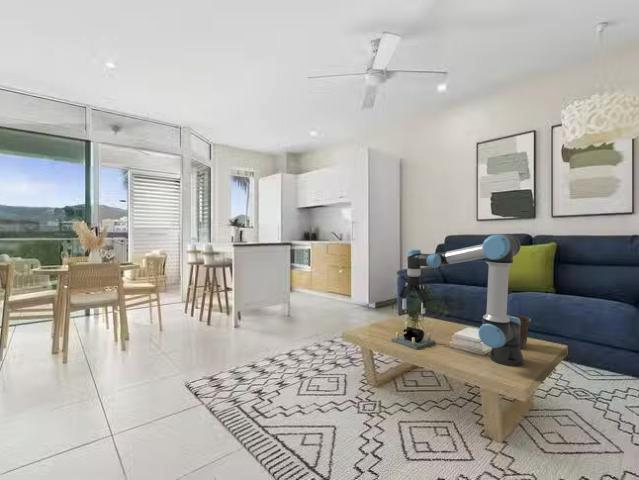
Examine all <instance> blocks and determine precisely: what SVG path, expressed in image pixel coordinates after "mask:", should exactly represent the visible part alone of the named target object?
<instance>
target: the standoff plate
mask: <svg viewBox="0 0 639 480" xmlns="http://www.w3.org/2000/svg"><path fill="white" fill-rule="evenodd" d="M404 338H405V337H404V334H403V335H400V332H395V337H392V338H391V340H390V341H391V342H393V343H396V344H397V345H398V344H399V345H402V346H405V347H408V348H410V349H413V350H416V351H417V350H420V349H423V348H426V347H429V346H431V345H434V344H436V340H434V339H431V332H427V337H425V336H424V338H423V340H422V341H421V342H418V343H416V342H415V338H414V337H413V338H412V341H408V340H405V339H404Z"/></svg>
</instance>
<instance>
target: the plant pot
mask: <svg viewBox="0 0 639 480" xmlns="http://www.w3.org/2000/svg"><path fill="white" fill-rule="evenodd" d="M507 315H509V316H514V317H517V318H519V319H520V324H521V326H520V348H522V349H525V347H526V348H527V341H528V332H529V327H530V324H531V318H529V317H527V316H523V315H519V314H509V313H508V314H507Z"/></svg>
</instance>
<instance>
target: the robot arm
mask: <svg viewBox="0 0 639 480" xmlns="http://www.w3.org/2000/svg"><path fill="white" fill-rule="evenodd" d="M521 247H522V246H521V242H520V240H519V239H518V238H517V237H516V236H515V235H512V234H501V233H500V234H499V233H498V234H491V235H490V236H488V237H486V238H485V239H484V241H483V243H481V244H477V245H472V246H466V247H462V248H458V249H453V250H447V251H443V252H439V253H438V252H437V253H422V252H421V249H409V250H408V249H407V258H406V259H407V268H406V269H407V272H406V275H407V277H406V279H407V281H406V282H403V283H402V287H401V290H400V292H399V295H398V297H399V298H401V304H402V310H407V298H406V297H407V296H408V295H409V294H410V293H411V292H414V293H416V294H417V295H418V297H419V298H420V300H421V304H420V307H421V309H420V310H421V311H420V312H421V313H420V314H422V315H424V314H426V309H427V303H428V302H430V298H429V295H428V292H427V290H426V286H425V284H421V268H422V267H425V268H434V269H435V268H439V267H440V266H441V267H442V266H448V265H453V264H458V263H464V262H470V261H475V260H482V259H485V263H486V264H487V265H488V275H487V299H486V313H485V314H484V315H483V316H482V325H481V326H480V327H479V329H478V332H477V333H478V337H479V340H480V341H481V342H482V343H483V344H484V345H485V346H487V347H489V348H491V350H490V352H489V353H490V354H489V358H490V359H491V361H493V362H494V363H496V364H497V363H498V364H499V365H504V366H510V367H511V366H512V367H519V366H523V365H524V363H525V358H524V356H523V352H522V350H521V349H520V326H521V324H520V319H519V318H517V317H514V316H509V315H507V313H508V296H509V295H508V291H509V269H510V266H511V265H513V264H514V257H515V256H517V254H519V253H520V251H521Z"/></svg>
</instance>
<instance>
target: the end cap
mask: <svg viewBox="0 0 639 480" xmlns="http://www.w3.org/2000/svg"><path fill="white" fill-rule="evenodd" d="M403 335H404V337H405V338H404V339H405V340H408V341H412V338H413V337H414V338H415V342H416V343H418V342H421V341H422V340H423V338H424V337H425V331H424V330H423V329H419V328H415V327H412V326H406V328H405V329H403Z"/></svg>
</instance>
